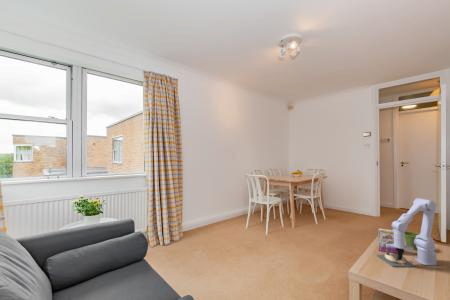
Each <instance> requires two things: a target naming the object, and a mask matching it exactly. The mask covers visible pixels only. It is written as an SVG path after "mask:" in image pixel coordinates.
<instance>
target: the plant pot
mask: <svg viewBox="0 0 450 300" xmlns="http://www.w3.org/2000/svg"><path fill="white" fill-rule="evenodd" d="M404 234H405V245H406V246H410V247H413V251H417V247H416V245H415V244H414V240H415V238H416V235H419V234H420V233H418V232H413V231H407V230H406V231H404Z"/></svg>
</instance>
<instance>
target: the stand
mask: <svg viewBox="0 0 450 300" xmlns="http://www.w3.org/2000/svg"><path fill="white" fill-rule="evenodd" d="M376 257H378V258H379V259H381V260H382V261H383V262H385V263H386V264H388V265H389V266H391V267H392V268H416V264H413V263H412V262H410V261H409V260H407V259H406V263H405V264H398V263H394V262H391V261H389V260H387V259H386V258H385V254H376Z"/></svg>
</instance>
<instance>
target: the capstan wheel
mask: <svg viewBox="0 0 450 300" xmlns="http://www.w3.org/2000/svg"><path fill="white" fill-rule="evenodd" d="M403 254H404V253H403ZM403 254H402V260H399V254H398V253H397V254H394V253H389V249H386V252H384V255H385V258H386V259H387V260H389V261H391V262H394V263H398V264H405V263H406V260H407V258H406V257H404V256H403Z"/></svg>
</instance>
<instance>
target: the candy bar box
mask: <svg viewBox="0 0 450 300" xmlns="http://www.w3.org/2000/svg"><path fill="white" fill-rule="evenodd" d="M377 239H378V251H380V252H384V253H386V249H389V253H394V254H398V252H397V250H396V248H390V247H389V248H387V247H386V244H394V231H393V229H386V228H380V227H379V228H378V238H377Z"/></svg>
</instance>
